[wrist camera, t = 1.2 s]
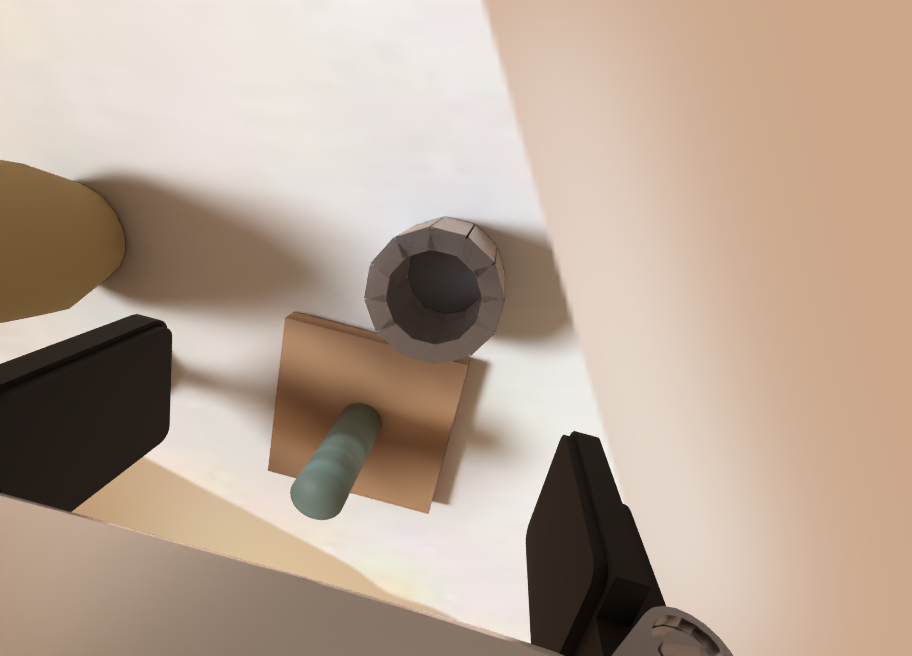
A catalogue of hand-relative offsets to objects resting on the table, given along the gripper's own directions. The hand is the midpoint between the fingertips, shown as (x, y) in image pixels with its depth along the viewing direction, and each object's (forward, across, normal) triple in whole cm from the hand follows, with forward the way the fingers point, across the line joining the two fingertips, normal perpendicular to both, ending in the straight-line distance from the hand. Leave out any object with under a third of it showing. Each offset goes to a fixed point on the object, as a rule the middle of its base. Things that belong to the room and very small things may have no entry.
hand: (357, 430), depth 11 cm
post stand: (+16, +3, +10) cm, 19 cm away
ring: (+16, 0, 0) cm, 16 cm away
